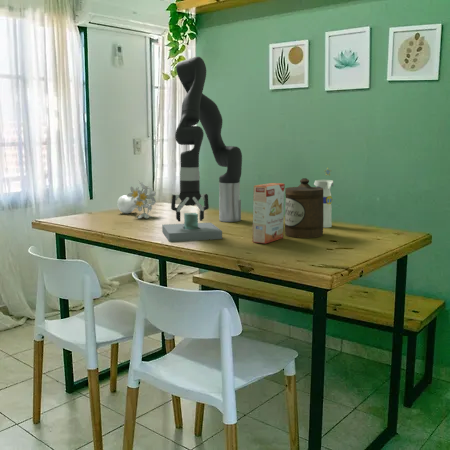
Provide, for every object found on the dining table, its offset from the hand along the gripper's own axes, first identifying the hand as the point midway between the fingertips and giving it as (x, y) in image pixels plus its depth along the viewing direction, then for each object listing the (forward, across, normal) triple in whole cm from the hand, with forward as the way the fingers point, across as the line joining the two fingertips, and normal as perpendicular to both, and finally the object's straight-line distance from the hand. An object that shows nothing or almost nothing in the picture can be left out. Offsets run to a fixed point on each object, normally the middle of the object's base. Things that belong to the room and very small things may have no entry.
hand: (190, 220), depth 215 cm
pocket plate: (+6, 0, 0) cm, 6 cm away
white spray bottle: (+5, -58, -7) cm, 59 cm away
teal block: (+6, 0, 0) cm, 6 cm away
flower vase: (+6, +17, -57) cm, 60 cm away
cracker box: (+6, -27, +17) cm, 32 cm away
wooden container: (+6, -44, +9) cm, 45 cm away
